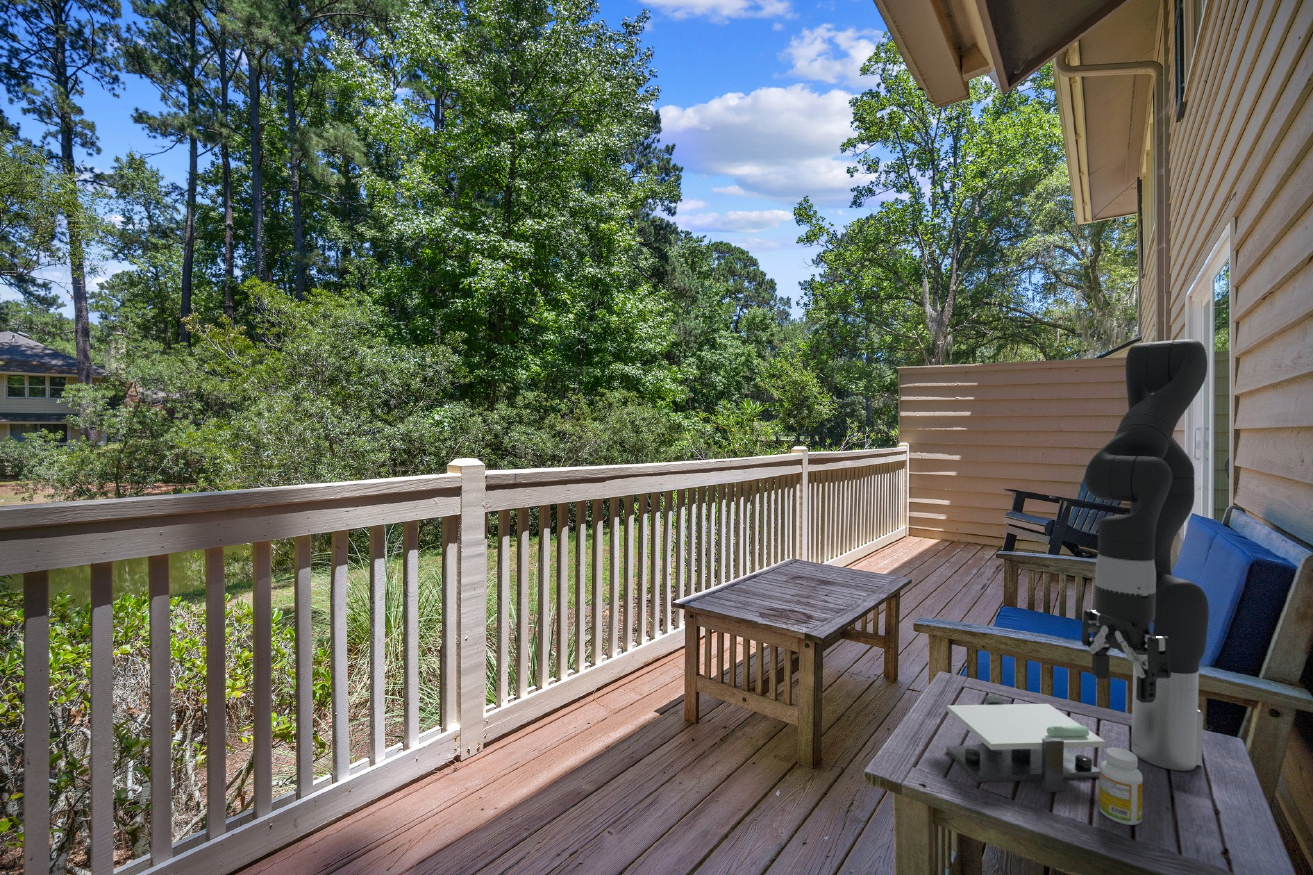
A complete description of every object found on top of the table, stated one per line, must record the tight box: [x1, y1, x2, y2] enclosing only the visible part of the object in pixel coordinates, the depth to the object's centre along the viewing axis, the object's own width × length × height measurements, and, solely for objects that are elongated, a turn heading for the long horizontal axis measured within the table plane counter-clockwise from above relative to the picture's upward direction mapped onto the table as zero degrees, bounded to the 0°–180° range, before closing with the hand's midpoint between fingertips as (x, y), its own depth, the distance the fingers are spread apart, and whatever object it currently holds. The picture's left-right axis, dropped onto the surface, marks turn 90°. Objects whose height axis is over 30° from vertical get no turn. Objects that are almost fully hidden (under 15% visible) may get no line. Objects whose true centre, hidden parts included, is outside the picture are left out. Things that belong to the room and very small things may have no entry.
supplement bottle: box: [1098, 746, 1144, 826], centre depth 98 cm, size 5×5×10 cm
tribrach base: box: [946, 695, 1100, 793], centre depth 113 cm, size 22×17×8 cm
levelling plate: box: [946, 703, 1106, 750], centre depth 113 cm, size 20×14×3 cm
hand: (1122, 689), depth 98 cm, fingers open, 8 cm apart
